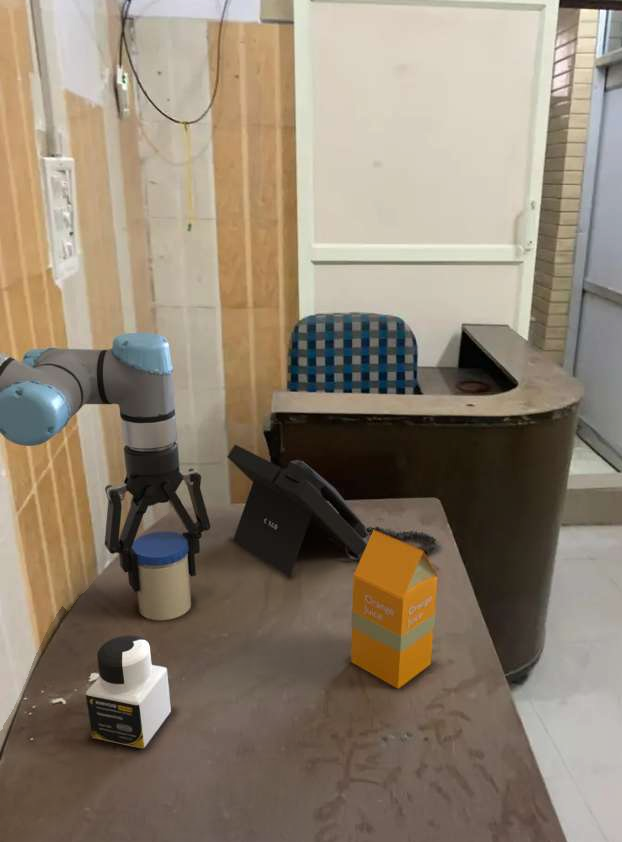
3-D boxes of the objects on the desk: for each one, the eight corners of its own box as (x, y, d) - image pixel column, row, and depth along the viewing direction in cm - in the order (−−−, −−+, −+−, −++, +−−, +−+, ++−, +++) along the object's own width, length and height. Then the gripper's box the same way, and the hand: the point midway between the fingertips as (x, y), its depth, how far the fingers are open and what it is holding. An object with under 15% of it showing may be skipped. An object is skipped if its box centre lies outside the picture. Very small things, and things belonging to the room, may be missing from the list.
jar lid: (121, 562, 113) (120, 553, 113) (148, 536, 121) (147, 528, 120) (173, 569, 112) (173, 560, 111) (197, 543, 119) (197, 535, 119)
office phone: (445, 549, 141) (453, 447, 132) (325, 601, 123) (326, 488, 115) (343, 496, 160) (344, 405, 152) (227, 536, 142) (222, 434, 134)
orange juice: (397, 689, 104) (405, 561, 95) (349, 661, 109) (353, 538, 101) (432, 663, 109) (441, 540, 101) (384, 638, 114) (390, 519, 106)
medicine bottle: (90, 739, 93) (78, 658, 88) (122, 701, 99) (112, 624, 95) (143, 750, 92) (134, 669, 87) (172, 711, 98) (164, 634, 93)
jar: (137, 622, 116) (130, 564, 112) (140, 594, 123) (134, 539, 119) (191, 618, 117) (186, 560, 113) (191, 590, 125) (187, 535, 120)
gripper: (209, 423, 117) (216, 552, 127) (67, 447, 106) (87, 587, 116) (229, 438, 112) (235, 572, 121) (82, 465, 101) (101, 610, 110)
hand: (163, 579), depth 118 cm, fingers closed on jar lid, 8 cm apart
